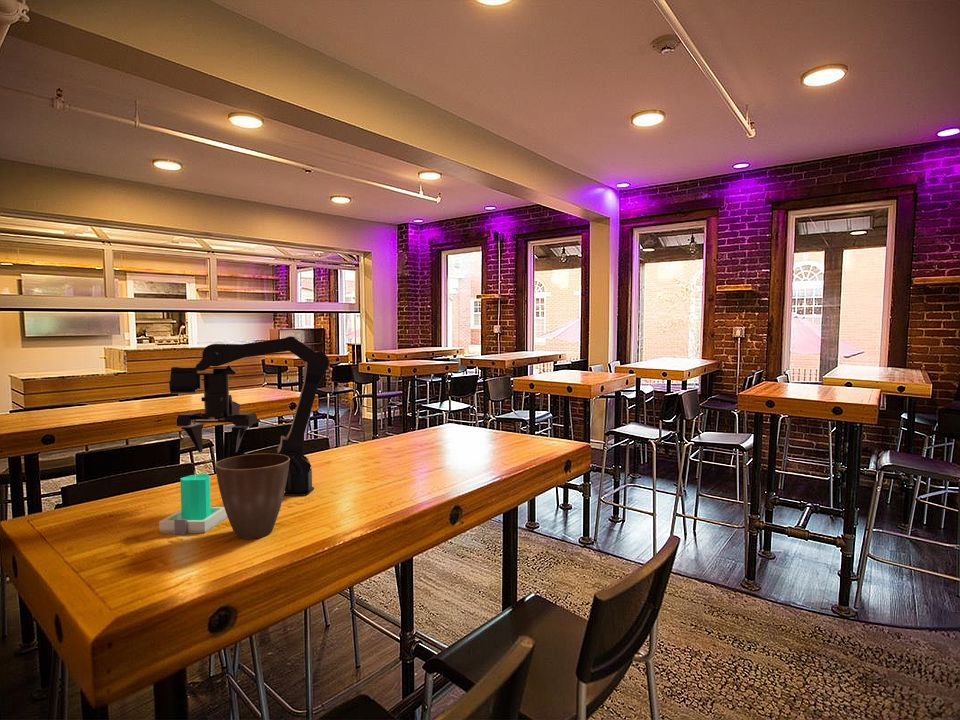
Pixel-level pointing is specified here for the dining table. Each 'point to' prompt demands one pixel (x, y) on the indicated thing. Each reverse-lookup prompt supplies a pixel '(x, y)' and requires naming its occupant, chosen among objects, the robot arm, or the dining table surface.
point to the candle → (195, 497)
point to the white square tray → (192, 522)
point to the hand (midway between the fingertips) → (218, 452)
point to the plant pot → (252, 491)
